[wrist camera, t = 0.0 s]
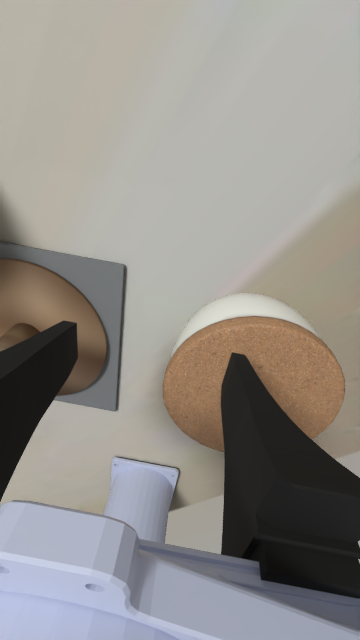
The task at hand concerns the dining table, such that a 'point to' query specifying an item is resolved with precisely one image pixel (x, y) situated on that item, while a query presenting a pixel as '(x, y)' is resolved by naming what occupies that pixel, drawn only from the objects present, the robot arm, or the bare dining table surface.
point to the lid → (50, 316)
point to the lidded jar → (266, 359)
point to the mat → (106, 297)
